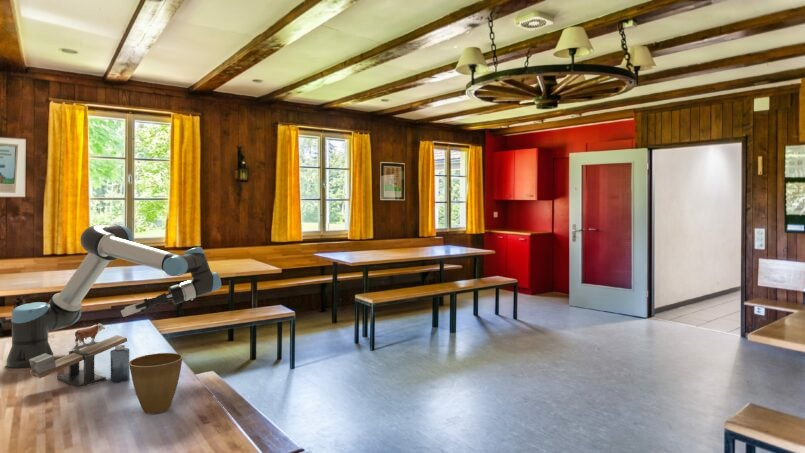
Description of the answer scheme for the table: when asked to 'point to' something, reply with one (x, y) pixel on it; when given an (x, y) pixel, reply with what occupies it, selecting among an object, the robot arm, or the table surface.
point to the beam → (70, 357)
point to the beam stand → (82, 373)
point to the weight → (119, 364)
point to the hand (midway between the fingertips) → (123, 312)
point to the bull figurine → (88, 333)
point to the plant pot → (156, 380)
